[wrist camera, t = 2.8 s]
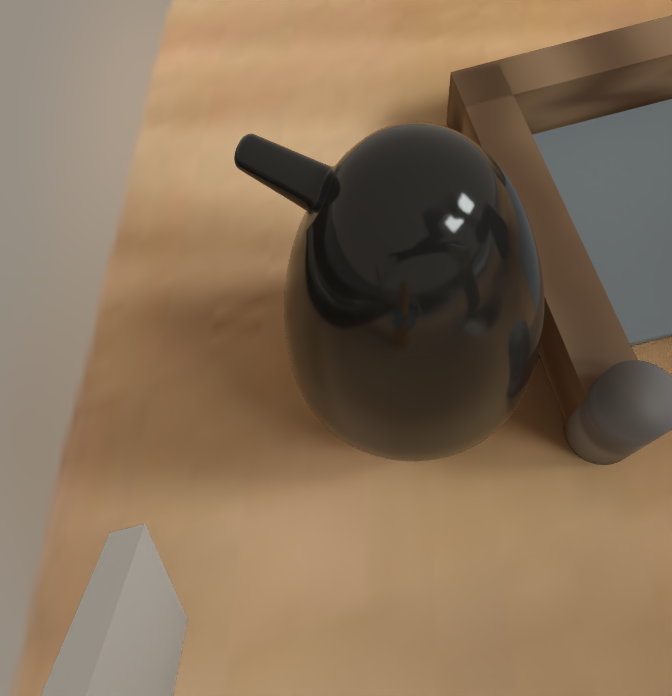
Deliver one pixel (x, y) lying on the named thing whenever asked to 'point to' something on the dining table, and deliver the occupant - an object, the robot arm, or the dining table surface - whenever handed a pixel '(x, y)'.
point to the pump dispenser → (407, 289)
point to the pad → (622, 208)
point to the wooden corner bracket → (558, 228)
